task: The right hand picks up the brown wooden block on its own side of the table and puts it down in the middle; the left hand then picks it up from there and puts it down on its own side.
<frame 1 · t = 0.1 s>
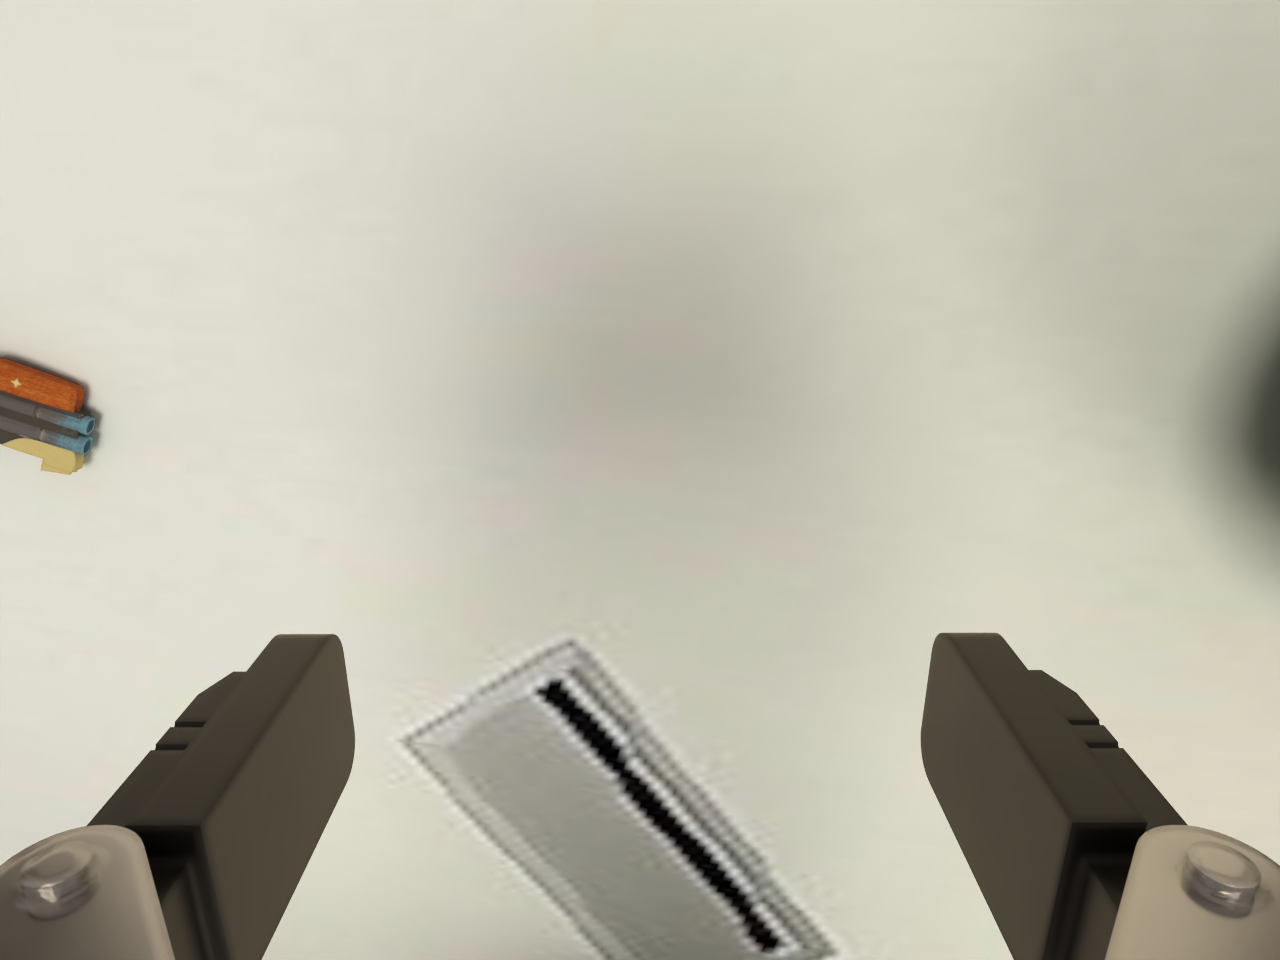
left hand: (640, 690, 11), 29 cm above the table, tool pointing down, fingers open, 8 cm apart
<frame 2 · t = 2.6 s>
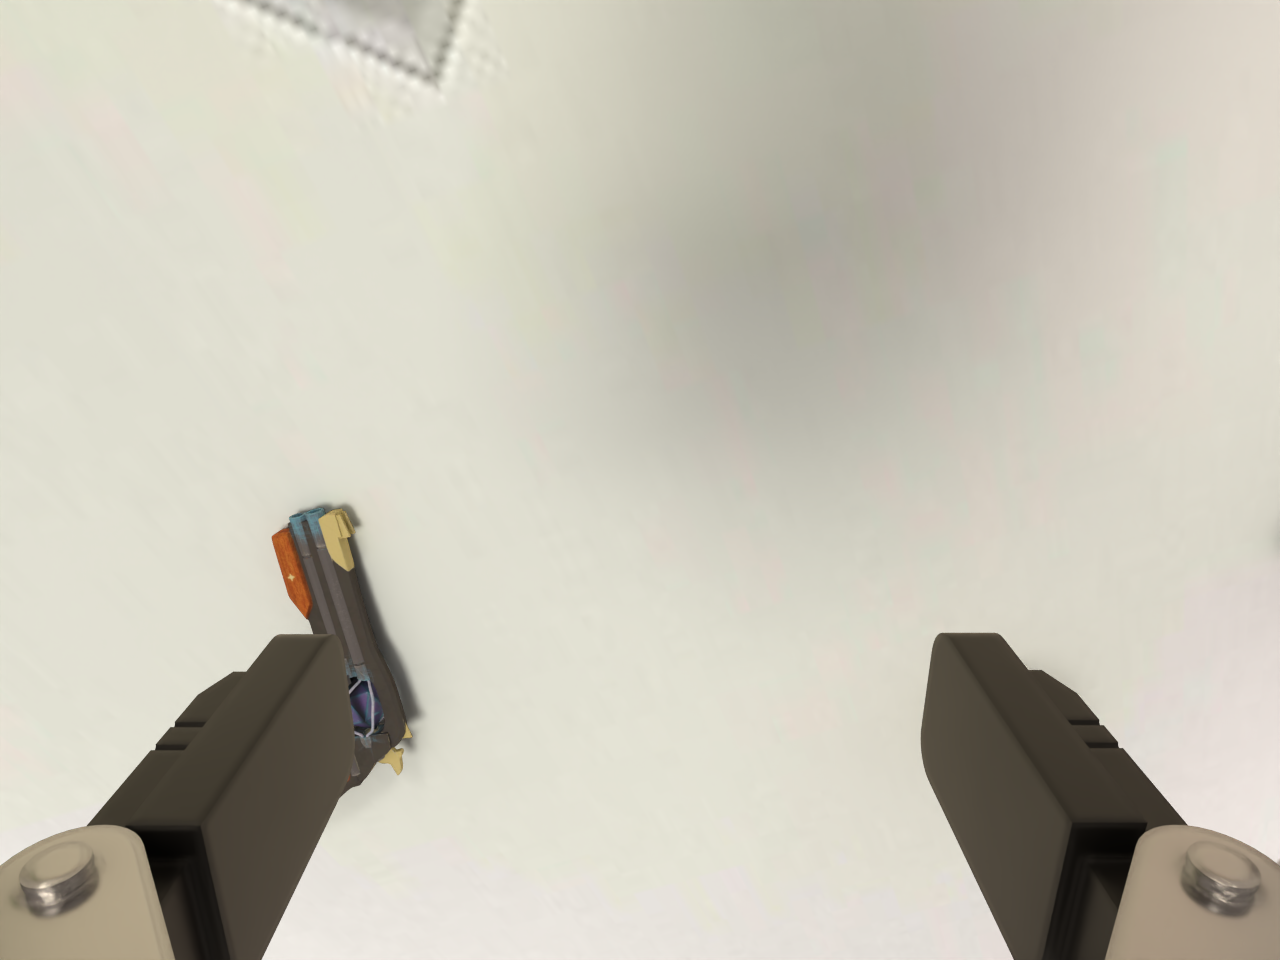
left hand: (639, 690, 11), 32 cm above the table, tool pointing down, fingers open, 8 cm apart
toy gun: (319, 664, 48), on the table
when the right hand's fingers open (1 cm above the table, at t = 7.5 s): brown wooden block stays where it is, on the table.
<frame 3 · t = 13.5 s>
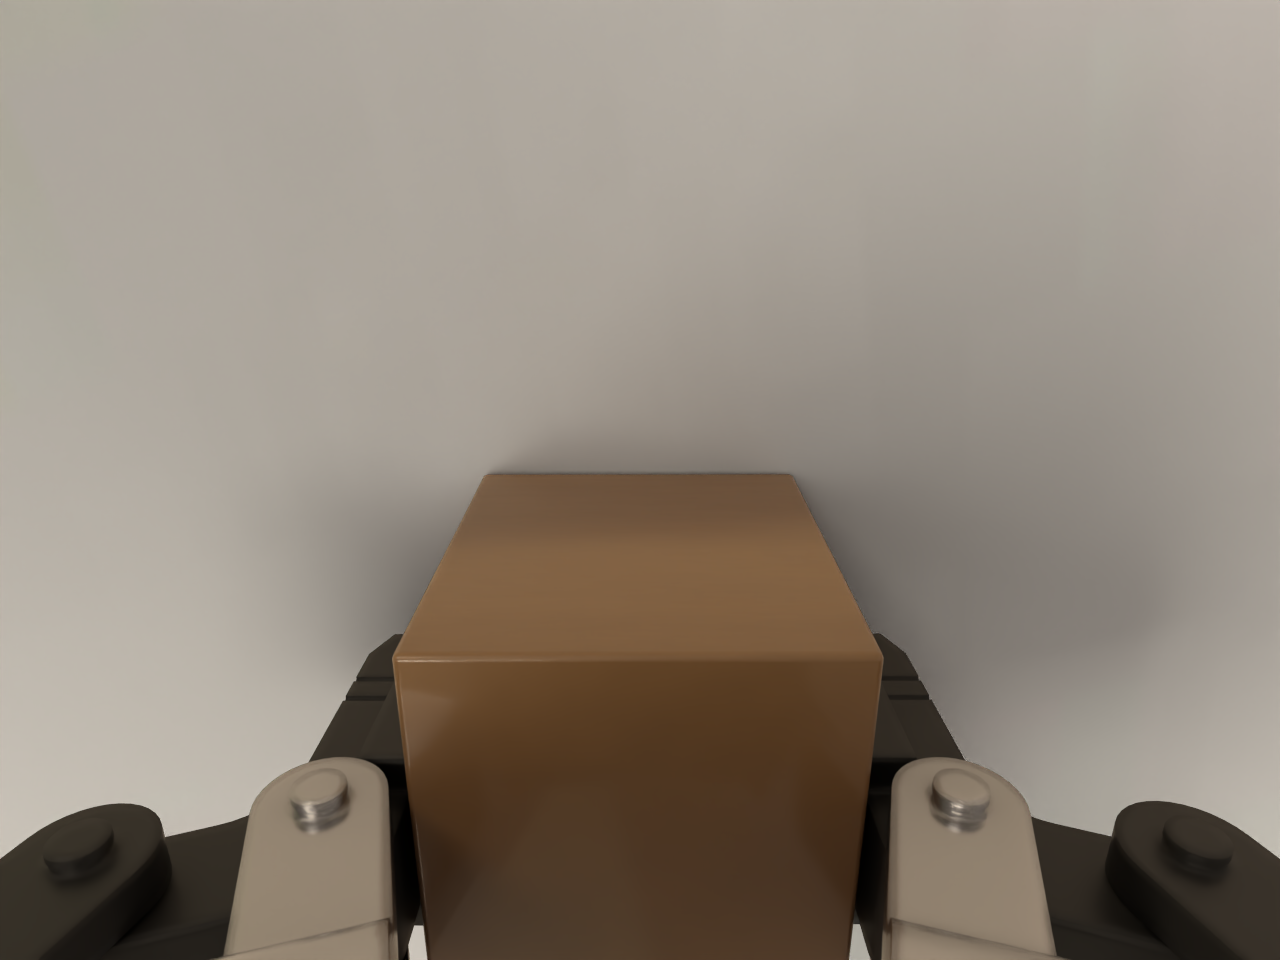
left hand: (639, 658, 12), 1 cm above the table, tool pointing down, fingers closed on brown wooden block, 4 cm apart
brown wooden block: (638, 632, 13), on the table, touching left hand
when the left hand's fingers open (1 cm above the table, at t = 23.8 s): brown wooden block stays where it is, on the table.
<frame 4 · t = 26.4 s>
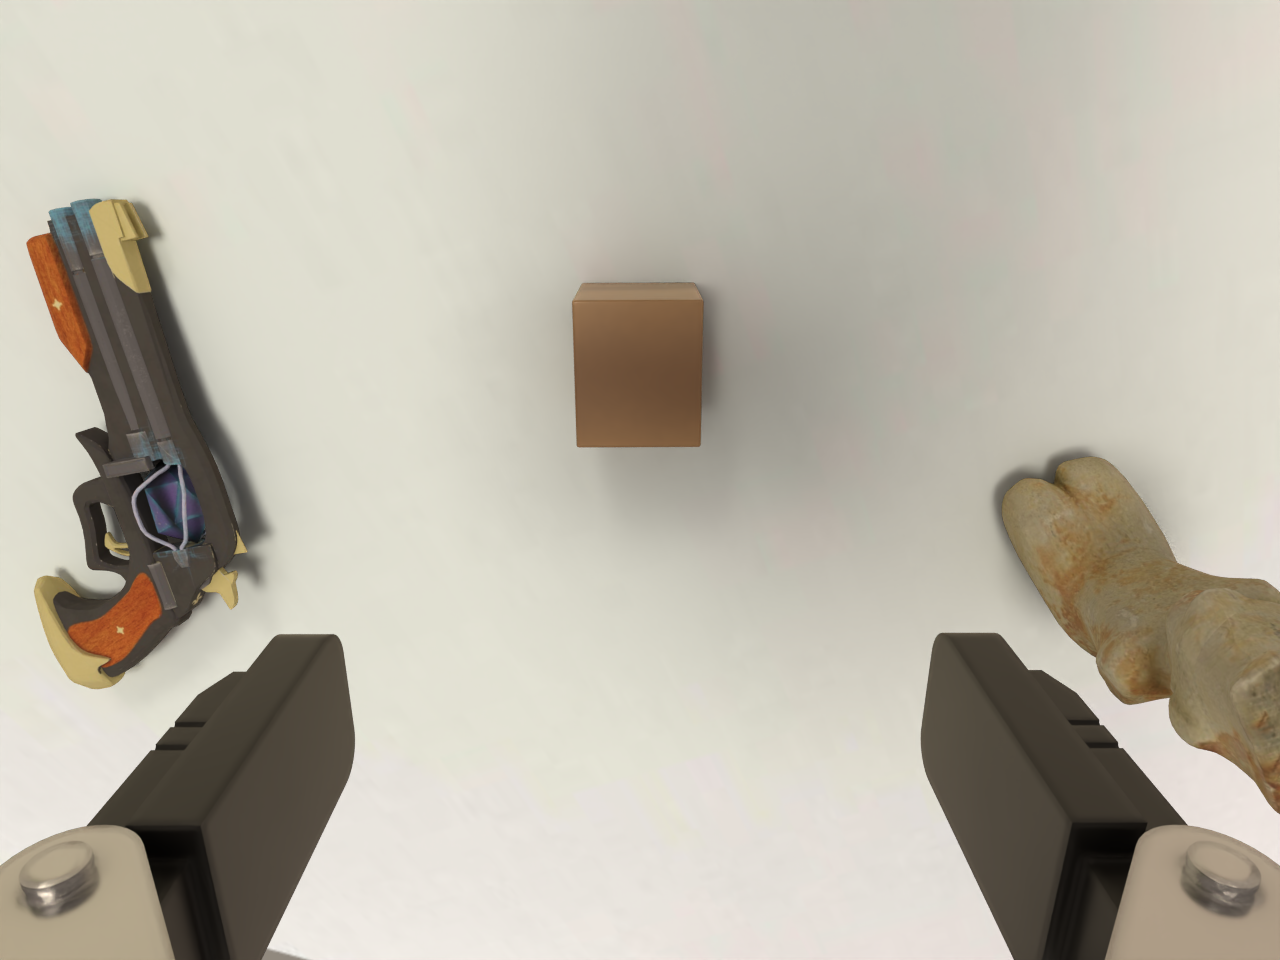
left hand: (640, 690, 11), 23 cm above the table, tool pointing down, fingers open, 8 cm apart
brown wooden block: (638, 348, 33), on the table
sculpture: (1058, 529, 36), on the table
toy gun: (120, 455, 34), on the table
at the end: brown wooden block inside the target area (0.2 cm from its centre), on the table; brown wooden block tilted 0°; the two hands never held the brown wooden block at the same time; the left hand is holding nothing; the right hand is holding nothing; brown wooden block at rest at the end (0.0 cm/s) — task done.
